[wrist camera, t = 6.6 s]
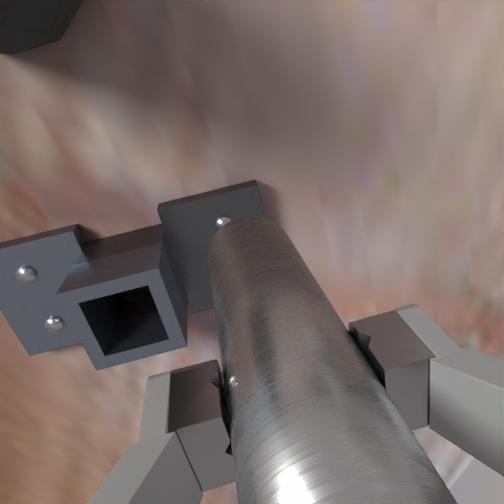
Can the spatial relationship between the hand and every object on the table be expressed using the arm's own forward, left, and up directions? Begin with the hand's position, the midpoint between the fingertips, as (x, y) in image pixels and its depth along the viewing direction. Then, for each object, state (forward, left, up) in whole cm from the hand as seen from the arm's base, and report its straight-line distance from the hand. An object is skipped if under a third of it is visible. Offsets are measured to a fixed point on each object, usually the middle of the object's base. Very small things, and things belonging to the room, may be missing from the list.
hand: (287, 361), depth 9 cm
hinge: (+9, +8, -24) cm, 26 cm away
